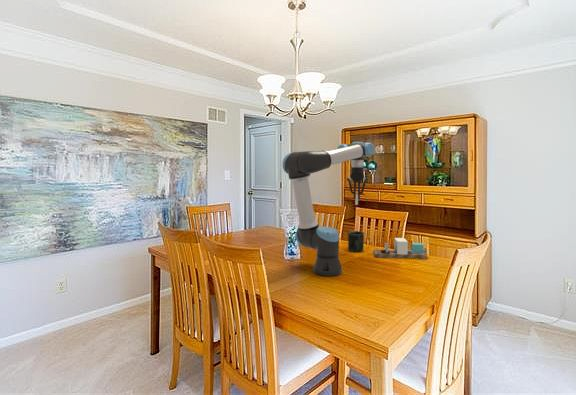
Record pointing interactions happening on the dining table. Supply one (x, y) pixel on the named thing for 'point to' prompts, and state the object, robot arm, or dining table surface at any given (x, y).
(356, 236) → the mug
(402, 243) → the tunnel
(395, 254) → the deck
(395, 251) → the sled
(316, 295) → the dining table surface
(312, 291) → the dining table surface
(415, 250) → the block
